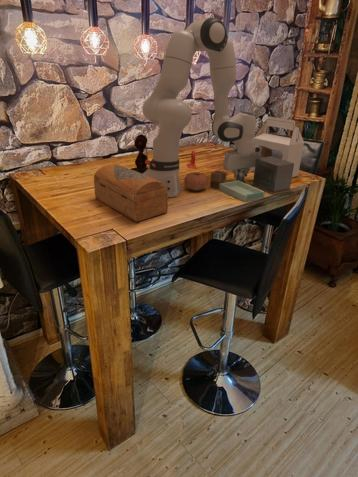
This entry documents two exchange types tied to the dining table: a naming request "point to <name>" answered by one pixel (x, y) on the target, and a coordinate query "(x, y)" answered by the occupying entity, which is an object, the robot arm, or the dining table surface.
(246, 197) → the tray
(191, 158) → the bracket
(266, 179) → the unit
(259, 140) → the gable box
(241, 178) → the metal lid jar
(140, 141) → the dark statuette
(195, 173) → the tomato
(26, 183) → the dining table surface
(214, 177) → the walnut block
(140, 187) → the wooden box
